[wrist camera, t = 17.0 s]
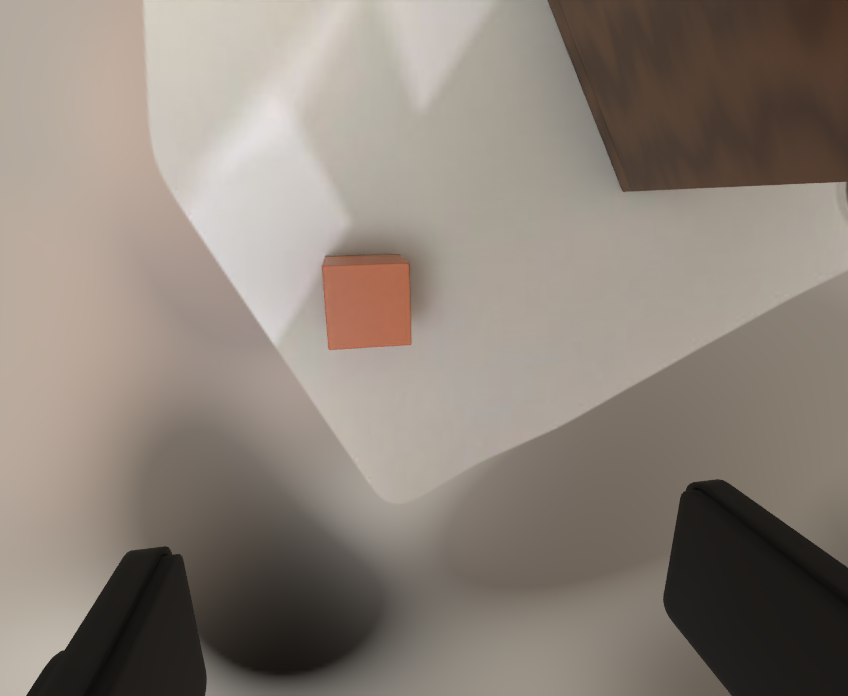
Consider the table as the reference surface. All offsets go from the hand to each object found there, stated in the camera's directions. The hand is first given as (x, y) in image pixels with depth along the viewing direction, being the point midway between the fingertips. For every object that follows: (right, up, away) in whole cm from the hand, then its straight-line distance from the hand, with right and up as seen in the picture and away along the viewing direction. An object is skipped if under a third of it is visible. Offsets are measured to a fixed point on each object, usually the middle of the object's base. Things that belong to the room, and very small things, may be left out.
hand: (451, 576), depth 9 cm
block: (-5, +9, +26) cm, 28 cm away
